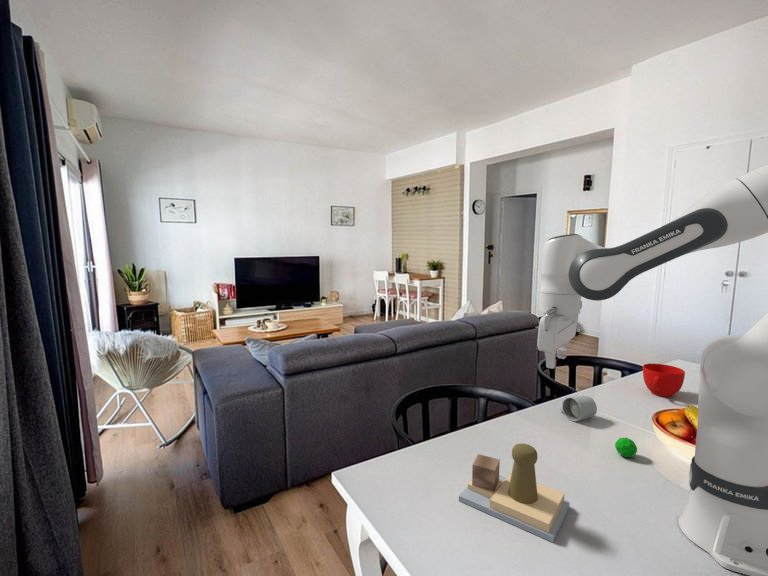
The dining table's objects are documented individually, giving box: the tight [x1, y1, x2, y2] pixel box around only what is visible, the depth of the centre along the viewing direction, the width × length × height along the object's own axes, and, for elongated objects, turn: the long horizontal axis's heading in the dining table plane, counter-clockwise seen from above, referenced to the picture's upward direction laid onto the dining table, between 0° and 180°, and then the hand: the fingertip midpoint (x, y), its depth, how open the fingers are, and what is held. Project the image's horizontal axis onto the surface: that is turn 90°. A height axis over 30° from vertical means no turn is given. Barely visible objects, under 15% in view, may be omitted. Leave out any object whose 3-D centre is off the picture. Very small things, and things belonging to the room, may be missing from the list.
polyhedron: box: [614, 437, 638, 458], centre depth 105 cm, size 5×5×5 cm
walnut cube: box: [471, 453, 501, 492], centre depth 89 cm, size 5×5×5 cm
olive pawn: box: [508, 443, 538, 504], centre depth 83 cm, size 6×6×11 cm
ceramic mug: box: [559, 395, 598, 422], centre depth 129 cm, size 11×8×8 cm
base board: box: [458, 473, 570, 543], centre depth 86 cm, size 20×13×3 cm, turn 52°
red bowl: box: [642, 363, 686, 398], centre depth 146 cm, size 13×17×10 cm
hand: (556, 362), depth 92 cm, fingers open, 8 cm apart
